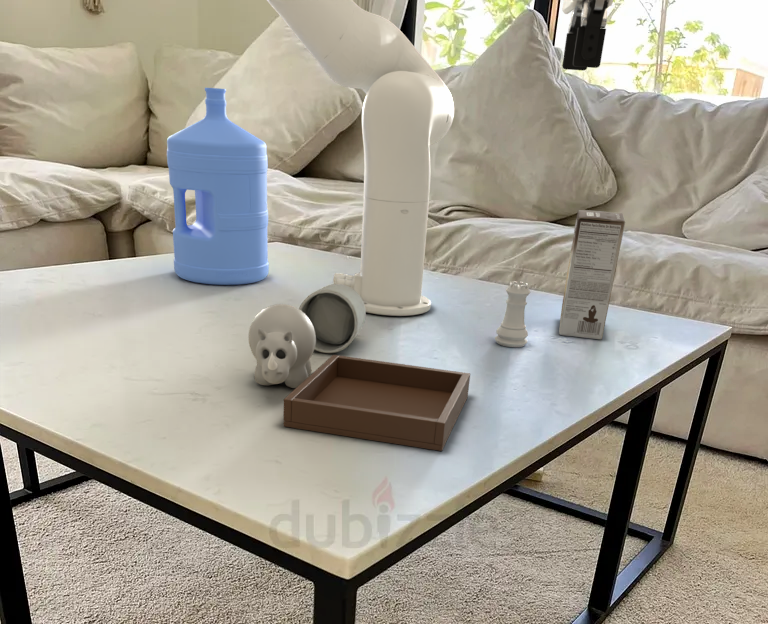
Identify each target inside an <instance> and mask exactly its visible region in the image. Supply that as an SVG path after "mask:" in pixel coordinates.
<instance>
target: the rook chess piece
mask: <svg viewBox="0 0 768 624" xmlns="http://www.w3.org/2000/svg"><path fill="white" fill-rule="evenodd" d="M529 286H530V285H529V283H527V282H524V281H520V282H519V284H518V281H515V280H513V281H509V283H508V286H507V287H506V288H505V292H506V294H507V296H508V297H507V299H506V300H505V303H506V308H505V311H504V316H503V319H502V321H501V322H500V325H499V326H498V327H497V329H496V332H495V333H496V334H497V335H496V336H495V337H494V340H495V342H496V344H498V345H500V346H502V347H507V348H523V347H524V346H526V345H527V343H528V339H527V338H528V336H529V332H528V330H527V329H526V328H527V325H526V324H525V309H526V305H527V304H528V302H527V297H528V296H529V295H530V294H531V290H530V288H529Z"/></svg>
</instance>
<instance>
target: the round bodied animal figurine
mask: <svg viewBox="0 0 768 624" xmlns="http://www.w3.org/2000/svg"><path fill="white" fill-rule="evenodd" d="M247 338H248V346H249V349H250V351H251V354H252V356H253V357H254V358H255V360H256V365H255V368H254V374H253V375H254V381H255V382H256V383H257V384H259V385H261V386H273V385H278V384H282V383H284V384H285V386H286V387H288V388H292V389H296V388H297V387H298V386H299V385H300V384H301V383H302V382H303V381H305V380H306V379H307V378H308V377H309V376H310V375H311V374H312V364H311V360H310V359H311V358H312V355H313V353H314V352H315V350H314V349H315V344H316V335H315V330H314V327H313V324H312V322H311V321H310V319H309V318H308V317H307V315H306V314H305V313H303V312H302V311H301V310H299V308H298V307H295V306H293V305H290V304H285V303H277V304H272V305H270V306H267V307H265V308H263V309H262V310H261V311H259V312H258V313H257V314H256V315H255V316H254V318H253V320H252V321H251V323H250V326H249V330H248V337H247Z"/></svg>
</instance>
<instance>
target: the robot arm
mask: <svg viewBox="0 0 768 624" xmlns="http://www.w3.org/2000/svg"><path fill="white" fill-rule="evenodd" d="M266 2H268V4H269V5H270V6H271V8H273V10H274V11H275V12H276V13H277V14H278V16H279V17H280V18H281V20H283V22H284V23H285V24H286V26H287V27H288V28H289V29H290V30H291V32H292V33H293V34H294V36H295V37H296V38H297V39H298V40H299V42H300V43H301V44H302V45H303V46H304V48H305V49H306V50H307V51H308V52H309V53H310V55H311V56H312V57H313V59H314V60H315V61H316V63H318V64H319V66H320V67H321V69H322V70H323V71H324V72H325V73H326V74H327V76H328V77H329V78H330V79H331V80H332V81H333V82H334V83H336V84H338V85H339V86H341V87H344V88H350V89H358V90H362V91H363V92H364V93H365V97H364V100H363V104H362V110H361V133H362V144H363V160H364V161H363V163H364V164H363V165H364V167H363V169H364V170H363V171H364V172H363V201H362V203H363V205H362V221H361V222H362V225H361V244H360V245H361V247H360V248H361V249H360V269H359V272H358V273H357V272H356V273H354V274H352V275H351V274H347V273H340V272H335V273H334V275H333V284H342V285H346V286H348V287H351V288H352V289H354V290H355V291H356V292H357V293H358V294H359V295H360V296H361V298H362V300H363V302H364V305H365V310H366V313H368V314H373V315H379V316H380V315H381V316H393V317H395V316H396V317H402V316H403V317H404V316H405V317H408V316H418V315H421V314H425V313H428V312H429V311H430V310H431V305H432V302H431V300H430V299H429V298H427V297H426V296H424V295H422V291H423V280H424V267H425V257H426V255H425V254H426V245H427V231H428V220H429V219H428V218H429V209H430V208H429V207H430V193H431V192H430V191H431V150H430V146H432V145H435V144H437V143H438V142H440V141H441V140H442V139H443V138H444V137H446V135H447V134H448V132H449V131H450V128H451V127H452V124H453V121H454V117H455V105H454V100H453V96H452V93H451V92H450V89H449V87H448V86H447V85H446V84H445V82H444V81H443V79H442V78H441V76H440V75H439V74H438V73H437V72H436V71H435V70H434V68H433V67H432V66H431V65H430V64H429V62H428V61H427V60H426V59H425V58H424V57H423V55H422V54H421V53H420V52H419V51H418V49H417V48H416V47H415V45H413V43H412V42H411V41H410V40H409V38H408V37H407V36H406V34H404V33H403V31H401V30H400V28H399V27H398V26H396V25H395V23H393V22H392V21H390V20H389V19H388V18H386V17H385V16H382V15H380V14H376V13H374V12H370V11H368V10H366V9H364V8H362V7H361V6H359V5H358V4H357V3H356V2H355V1H354V0H266ZM613 2H614V0H563V2H562V8H561V9H562V12H563V14H565V15H568V14H570V13H571V15H570V19H569V20H570V22H569V24H568V30H567V31H568V32H567V33H566V36H565V43H564V45H565V46H564V52H563V59H562V65H561V67H562V69H563V70H568V71H569V70H572V71H586V70H587V69H588V68H590V69H591V68H593V69H597V68H599V67H600V66H601V62H602V57H603V51H604V44H605V38H606V32H607V28H606V26H607V21H608V10H609V9H611V7H612V6H613Z"/></svg>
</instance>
